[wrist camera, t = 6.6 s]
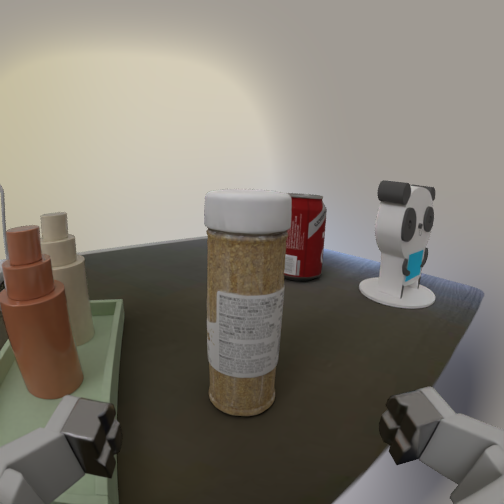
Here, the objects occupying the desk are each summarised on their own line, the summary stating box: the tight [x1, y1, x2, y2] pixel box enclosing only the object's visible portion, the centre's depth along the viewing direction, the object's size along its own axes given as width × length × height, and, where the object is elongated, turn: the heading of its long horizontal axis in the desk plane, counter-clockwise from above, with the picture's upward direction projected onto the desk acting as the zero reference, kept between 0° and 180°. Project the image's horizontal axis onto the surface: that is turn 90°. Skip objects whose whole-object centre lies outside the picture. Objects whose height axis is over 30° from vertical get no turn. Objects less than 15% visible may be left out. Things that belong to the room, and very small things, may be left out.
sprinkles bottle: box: [204, 189, 292, 416], centre depth 18 cm, size 5×5×14 cm
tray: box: [0, 299, 125, 504], centre depth 17 cm, size 23×10×2 cm, turn 19°
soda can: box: [284, 193, 326, 281], centre depth 44 cm, size 7×7×12 cm
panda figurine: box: [359, 181, 435, 309], centre depth 37 cm, size 12×11×15 cm
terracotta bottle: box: [0, 225, 84, 399], centre depth 16 cm, size 5×5×11 cm
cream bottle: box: [40, 212, 95, 346], centre depth 22 cm, size 5×5×11 cm
